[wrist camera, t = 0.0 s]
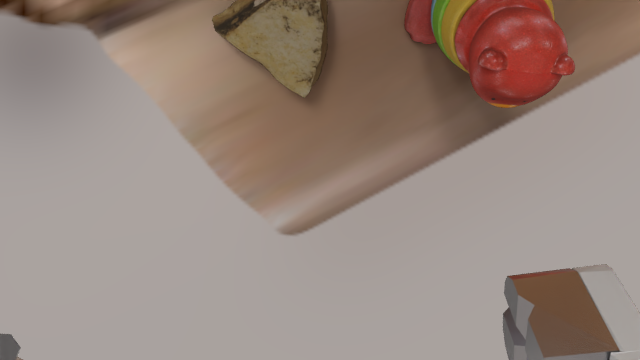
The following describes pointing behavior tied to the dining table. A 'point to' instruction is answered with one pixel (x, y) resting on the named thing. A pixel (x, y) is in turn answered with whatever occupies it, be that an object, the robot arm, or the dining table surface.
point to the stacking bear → (496, 44)
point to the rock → (280, 37)
